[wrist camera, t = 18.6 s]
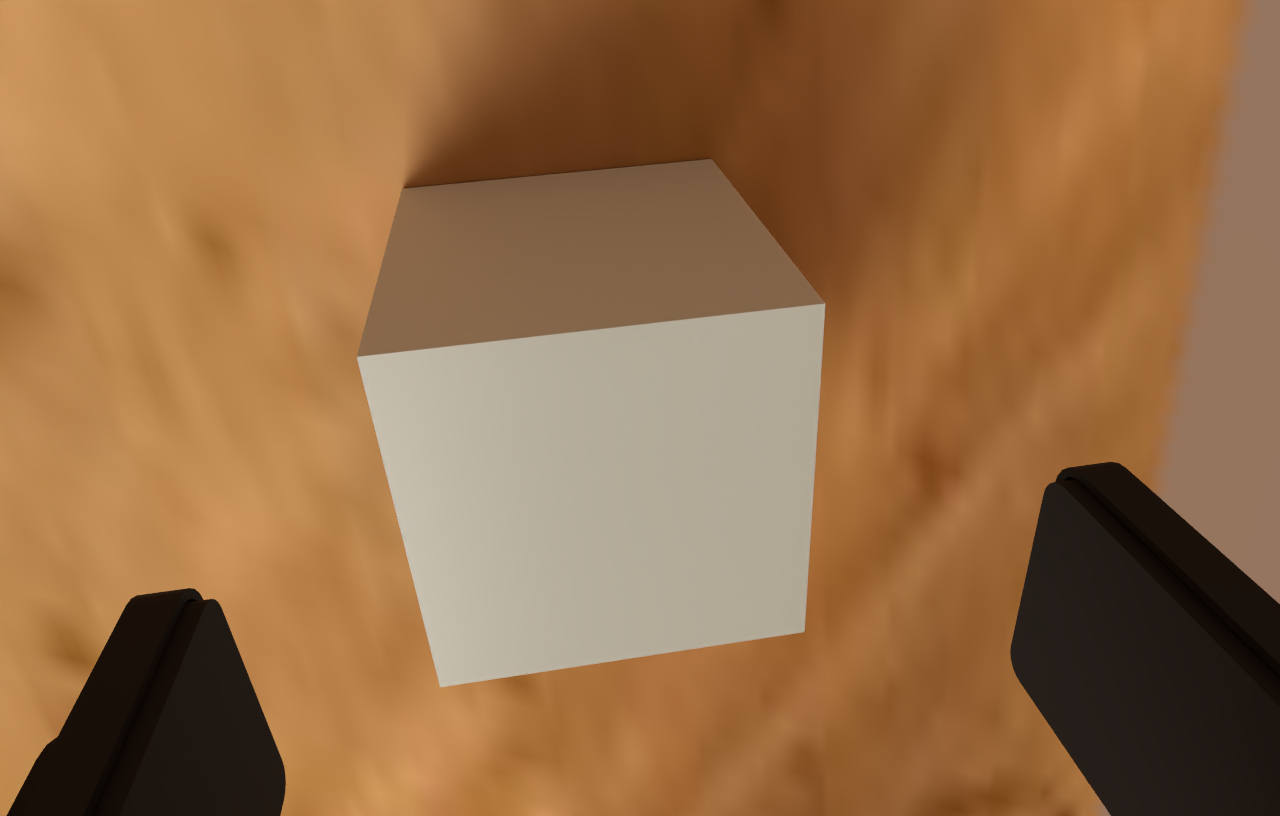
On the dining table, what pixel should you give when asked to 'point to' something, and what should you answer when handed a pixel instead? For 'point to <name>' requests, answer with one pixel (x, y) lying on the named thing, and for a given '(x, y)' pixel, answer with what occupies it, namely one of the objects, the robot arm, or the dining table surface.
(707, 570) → the matte cream cube
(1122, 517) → the robot arm
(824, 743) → the dining table surface
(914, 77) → the dining table surface
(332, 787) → the dining table surface
